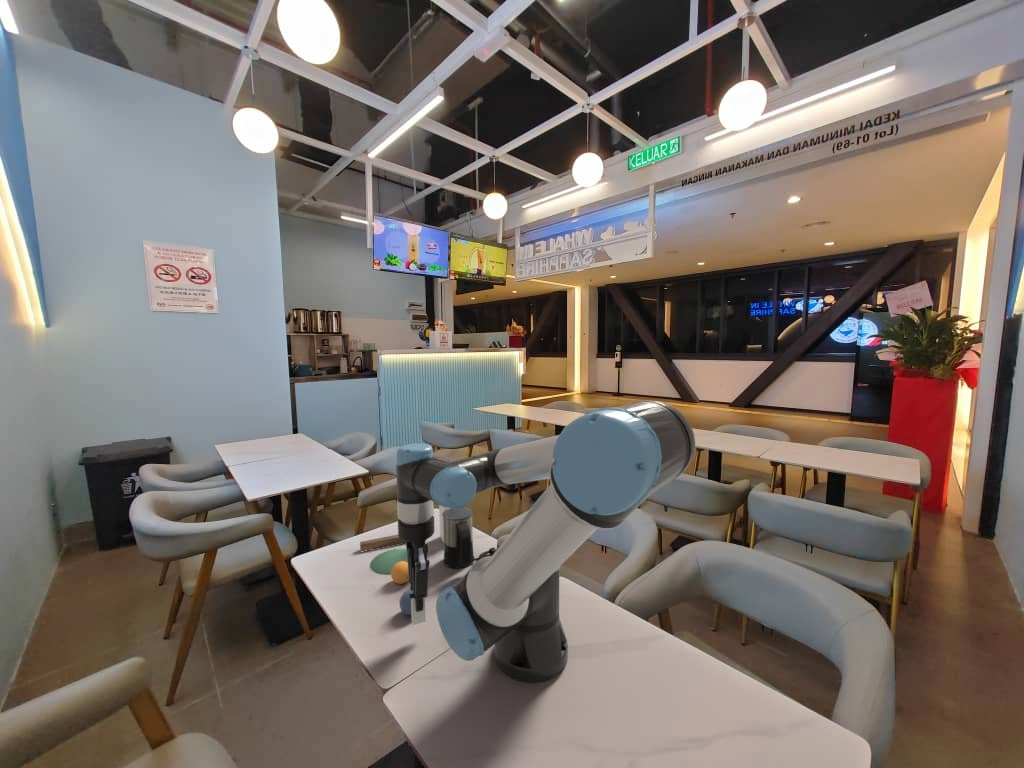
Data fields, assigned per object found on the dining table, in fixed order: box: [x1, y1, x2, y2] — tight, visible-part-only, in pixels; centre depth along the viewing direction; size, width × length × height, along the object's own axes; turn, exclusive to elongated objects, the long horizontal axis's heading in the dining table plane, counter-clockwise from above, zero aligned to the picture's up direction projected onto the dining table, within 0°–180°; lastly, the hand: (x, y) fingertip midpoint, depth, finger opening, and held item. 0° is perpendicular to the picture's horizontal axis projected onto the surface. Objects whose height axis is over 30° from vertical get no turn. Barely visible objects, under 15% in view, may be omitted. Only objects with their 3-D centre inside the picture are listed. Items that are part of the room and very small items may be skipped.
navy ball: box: [399, 589, 413, 616], centre depth 94 cm, size 6×6×6 cm
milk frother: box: [442, 507, 497, 569], centre depth 118 cm, size 14×16×15 cm
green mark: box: [370, 548, 408, 575], centre depth 118 cm, size 14×14×1 cm
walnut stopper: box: [359, 534, 406, 552], centre depth 128 cm, size 2×18×2 cm, turn 115°
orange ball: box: [390, 561, 409, 585], centre depth 107 cm, size 6×6×6 cm
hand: (418, 621), depth 86 cm, fingers closed
